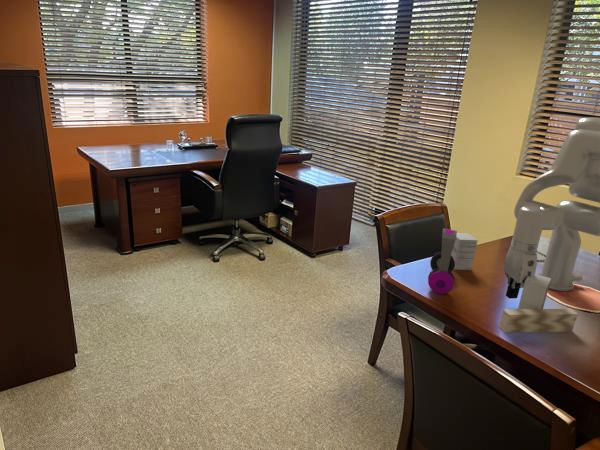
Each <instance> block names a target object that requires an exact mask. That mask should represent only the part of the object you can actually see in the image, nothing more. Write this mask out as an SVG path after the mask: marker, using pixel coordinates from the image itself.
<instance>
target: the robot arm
mask: <svg viewBox="0 0 600 450" xmlns="http://www.w3.org/2000/svg"><path fill="white" fill-rule="evenodd" d="M564 185H569V187H568V193H569V194H570V195H571V196H573V197H574V198H575V197H576V198H578V199H583V200H587V201H590V202H594V203H598V204H600V117H596V116H595V117H592V116H588V117H587V116H585V117H582V118H580V119H579V120H577V122H576V124H575V127H574V130H572V131H570V132H569V133H568V134H567V136H566V137H565V140H564V142H563V144H562V145H561V147H560V150H559V152H557V155H556V157H555V159H554V161H553V163H552V165H551V167H550V169H549V170H548V171H547V172H545V173H543V174H540V175H539V176H537V177H536V178H534V179H533V180H531V181H530V182H529V183H528V184H527V185H526V186H525V187H524V188H523V190H522V192H521V193H520V196H519V197H518V200H517V202H516V204H515V207H514V210H513V214H514V217H515V219H516V223H515V226H514V229H513V234H512V238H511V243H510V245H509V249H508V251H507V252H506V256H505V259H504V263H503V269H502V270H503V272H504V275H505V276H506V277H507V289H506V293H505V297H507V298H508V299H518V297H519V293H520V289H523V287H524V284H525V280H526V279H527V277H528V276H530V277H534V276H535V274H537V273H536V271H537V265H538V261H537V260H538V252H537V251H538V247H539V243H540V240H541V235H542V231H552V232H551V234H550V240H549V242H548V246H547V250H546V253H545V255H546V257H545V256H544V257H545V258H544V259H545V261H544V260H543V266H542V269H541V273H538V274H537V275H541V276H544V277H548V278H551V282H550V286H549V289H550V290H553V291H558V292H569V291H572V290H573V289H574V283H573V282H575V281H577V282H580V281H581V282H582V280H583V276H582V275H575V273H574V268H575V265H576V261H577V258H578V256H579V251H580V249H581V244H582V238H581V235H580V233H579V232H581V233H583V234H588V235H591V236H596V237H600V206H595V205H592V204H589V203H584V202H581V201H576V200H571V199H568V200H562V201H561V202H559V203H558V204H556V205H552V204H548V203H545V202H540V201H536V200H534V199H535V197H536V196H537V195H538V194H539V193H541V192H542V191H543V190H546V189H548V188H552V187H557V186H564Z"/></svg>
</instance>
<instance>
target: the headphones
mask: <svg viewBox="0 0 600 450" xmlns="http://www.w3.org/2000/svg"><path fill="white" fill-rule="evenodd" d="M441 233H442V235H441V251H437V252H435V253H434V255H432V257H431V258H430V261H429V262H430V264H429V265H430V268H431V270H432V271H430V273H429V274H428V277H427V284H428V286H429V288H430V290H432V291H433V292H434V293H437V294H440V295H443V294H447V293H449V292H450V291H452V290H453V288H454V286H455V276H454V274H453V271H454V267H455V261H454V259H453V257H452V256H451V253H452V250H453V247H454V243H455V240H456V235H457V233H458V231H457V230H455V229H451V228H449V229H448V228H442V232H441Z"/></svg>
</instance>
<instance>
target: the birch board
mask: <svg viewBox="0 0 600 450" xmlns="http://www.w3.org/2000/svg"><path fill="white" fill-rule="evenodd" d="M577 318H578V313H577V312H576V311H574V310H573V309H572V308H543V309H518V308H517V309H516V308H515V309H514V308H512V309H511V308H510V309H509V308H508V309H507V308H506V309H502V312H501V317H500V322H499V325H498V327H499V328H500V330H501V331H502V332H503V333H549V332H550V333H553V332H557V333H558V332H559V333H560V332H561V333H562V332H564V333H565V332H573V330H574V326H575V323H576V320H577Z"/></svg>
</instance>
